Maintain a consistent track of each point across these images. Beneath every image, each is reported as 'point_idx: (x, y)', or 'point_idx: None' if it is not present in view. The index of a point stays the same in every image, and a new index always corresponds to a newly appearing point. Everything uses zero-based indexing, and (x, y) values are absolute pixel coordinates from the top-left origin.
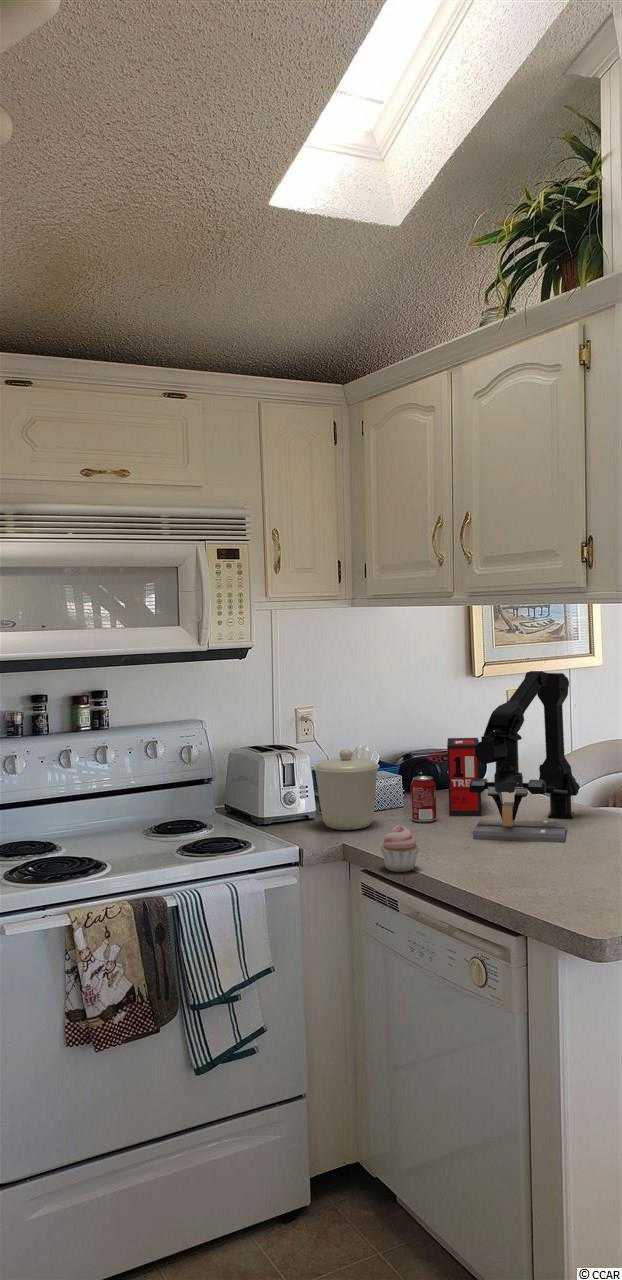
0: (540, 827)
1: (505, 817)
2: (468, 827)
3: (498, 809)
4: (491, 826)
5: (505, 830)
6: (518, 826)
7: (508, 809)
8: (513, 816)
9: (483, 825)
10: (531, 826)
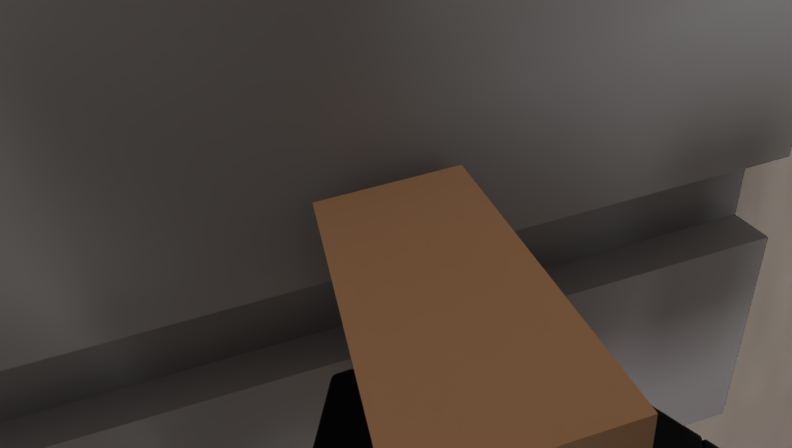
0: (10, 444)
1: (461, 253)
2: (767, 309)
3: (664, 413)
4: (609, 198)
5: (374, 30)
6: (296, 366)
7: (454, 404)
8: (355, 407)
9: (692, 248)
10: (129, 418)
